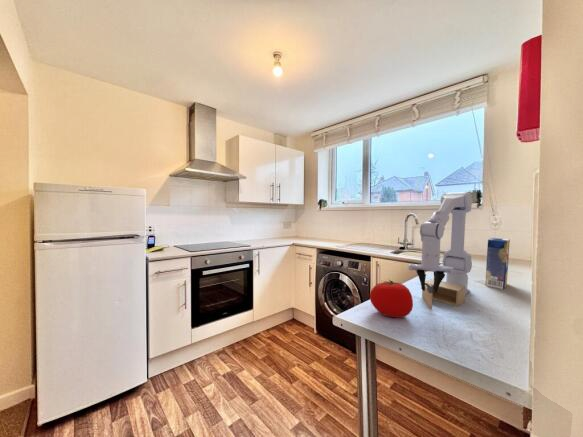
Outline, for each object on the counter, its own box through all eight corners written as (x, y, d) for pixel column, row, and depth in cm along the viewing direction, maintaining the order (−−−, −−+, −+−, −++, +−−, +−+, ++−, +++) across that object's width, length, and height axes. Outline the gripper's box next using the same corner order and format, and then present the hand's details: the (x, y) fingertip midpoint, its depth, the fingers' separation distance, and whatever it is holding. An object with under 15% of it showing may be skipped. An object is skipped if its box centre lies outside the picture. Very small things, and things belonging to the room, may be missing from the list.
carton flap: (423, 296, 100) (424, 277, 99) (432, 308, 88) (433, 286, 88) (420, 296, 100) (421, 276, 99) (429, 308, 88) (430, 286, 88)
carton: (430, 292, 106) (431, 278, 105) (464, 301, 96) (465, 286, 95) (422, 296, 101) (423, 282, 100) (457, 306, 91) (458, 290, 90)
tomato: (406, 327, 75) (408, 291, 74) (364, 314, 84) (365, 282, 83) (416, 313, 84) (418, 282, 84) (378, 303, 93) (379, 274, 93)
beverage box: (506, 283, 117) (509, 239, 116) (504, 289, 110) (507, 241, 108) (489, 280, 122) (491, 237, 121) (485, 285, 115) (487, 240, 113)
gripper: (411, 255, 87) (409, 291, 88) (457, 258, 83) (455, 296, 84) (407, 251, 94) (406, 285, 95) (450, 254, 90) (448, 289, 90)
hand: (429, 290), depth 90 cm, fingers open, 3 cm apart
